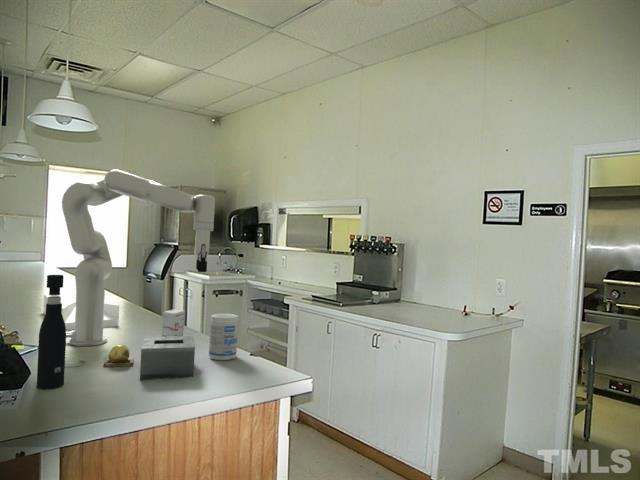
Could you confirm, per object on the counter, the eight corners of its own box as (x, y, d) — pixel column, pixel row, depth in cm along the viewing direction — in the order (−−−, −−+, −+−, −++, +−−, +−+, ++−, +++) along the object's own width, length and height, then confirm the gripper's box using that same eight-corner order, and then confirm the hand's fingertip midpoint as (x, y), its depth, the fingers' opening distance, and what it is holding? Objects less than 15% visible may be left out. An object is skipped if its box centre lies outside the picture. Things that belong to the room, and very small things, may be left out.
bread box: (43, 313, 217) (43, 294, 217) (92, 310, 232) (93, 292, 232) (61, 331, 183) (62, 308, 183) (118, 326, 197) (119, 305, 197)
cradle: (103, 366, 139) (103, 363, 139) (105, 362, 144) (105, 359, 144) (132, 365, 142) (132, 362, 142) (133, 361, 146) (133, 358, 146)
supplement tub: (227, 362, 151) (229, 319, 150) (203, 358, 153) (205, 316, 153) (241, 355, 160) (243, 314, 160) (217, 352, 163) (219, 312, 162)
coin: (128, 365, 142) (129, 346, 142) (108, 365, 141) (108, 346, 141) (129, 362, 145) (130, 344, 145) (109, 363, 143) (110, 344, 143)
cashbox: (139, 379, 129) (141, 348, 129) (143, 364, 144) (145, 336, 144) (193, 377, 134) (194, 347, 134) (192, 362, 148) (193, 335, 148)
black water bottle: (44, 381, 124) (49, 273, 124) (68, 381, 125) (73, 274, 124) (31, 389, 118) (36, 276, 117) (56, 389, 118) (61, 277, 118)
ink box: (172, 343, 172) (174, 313, 171) (160, 342, 173) (162, 311, 172) (183, 338, 180) (185, 309, 180) (172, 337, 181) (173, 308, 181)
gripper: (192, 226, 180) (190, 268, 180) (194, 226, 164) (192, 272, 164) (211, 227, 183) (209, 269, 183) (215, 227, 166) (213, 273, 167)
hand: (201, 270), depth 173 cm, fingers open, 9 cm apart
